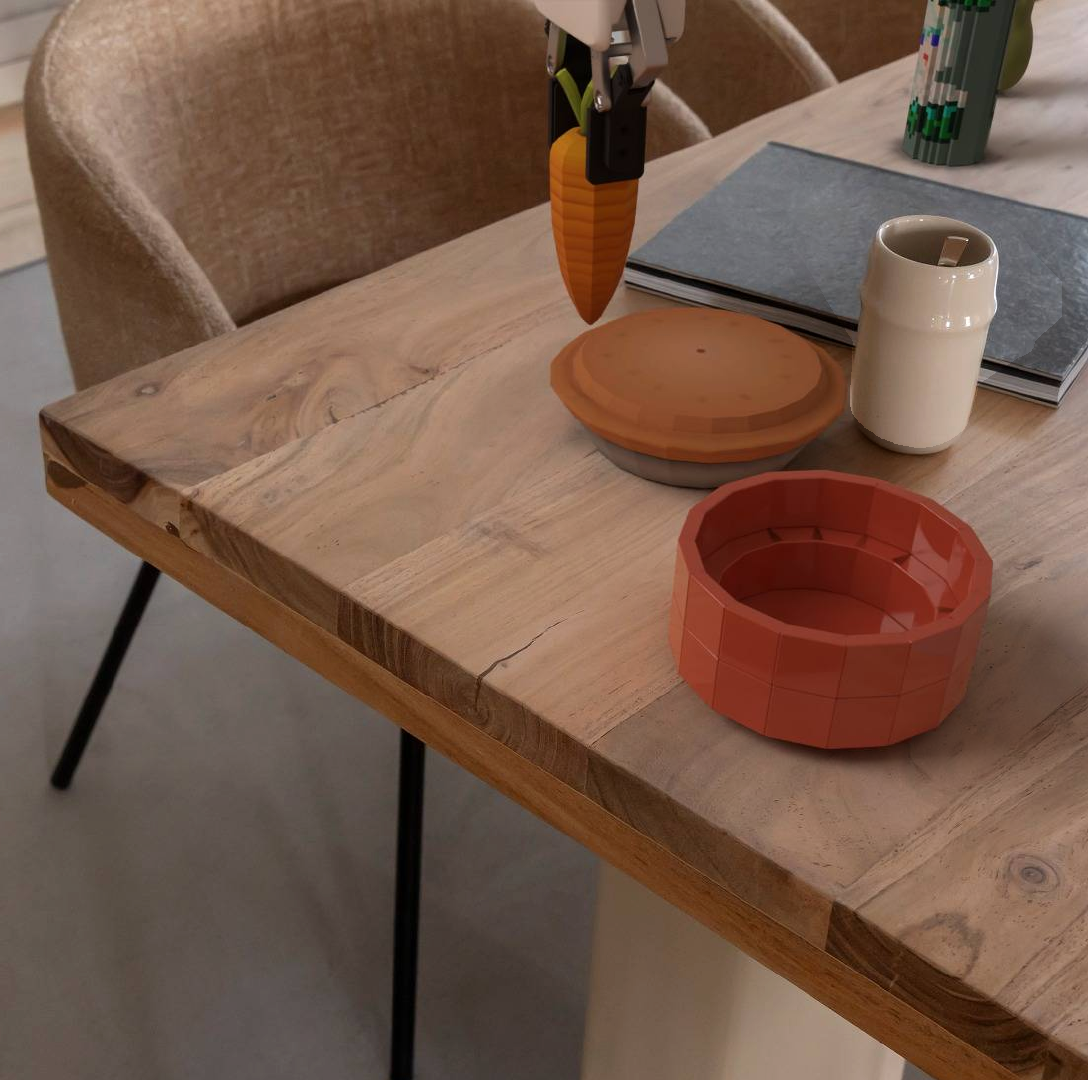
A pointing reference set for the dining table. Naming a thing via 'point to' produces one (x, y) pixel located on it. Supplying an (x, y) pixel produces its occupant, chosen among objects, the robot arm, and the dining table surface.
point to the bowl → (827, 607)
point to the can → (957, 80)
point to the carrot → (588, 215)
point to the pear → (1018, 46)
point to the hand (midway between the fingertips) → (594, 160)
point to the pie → (698, 394)
